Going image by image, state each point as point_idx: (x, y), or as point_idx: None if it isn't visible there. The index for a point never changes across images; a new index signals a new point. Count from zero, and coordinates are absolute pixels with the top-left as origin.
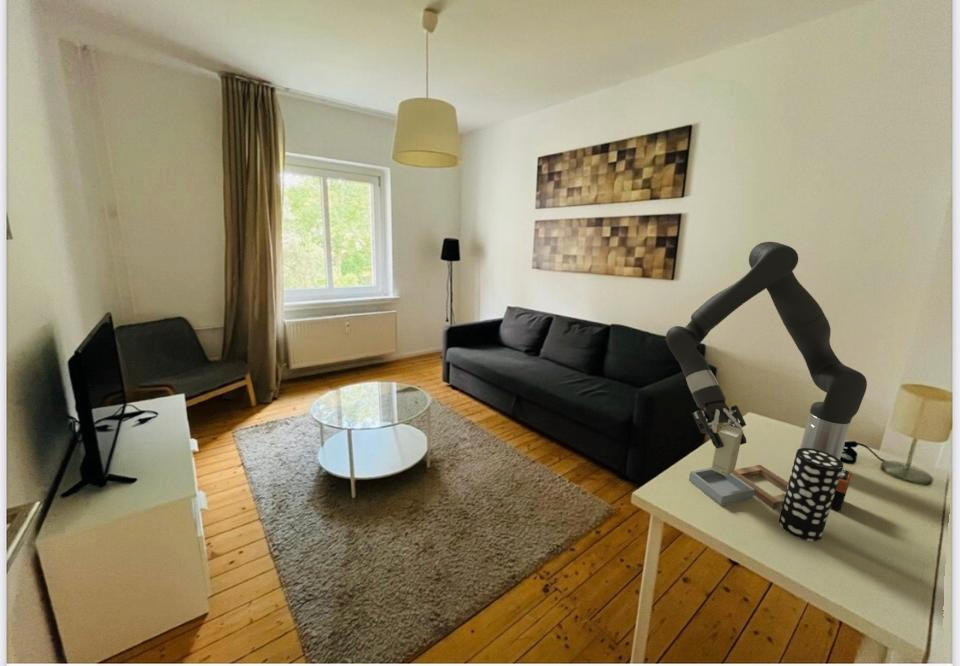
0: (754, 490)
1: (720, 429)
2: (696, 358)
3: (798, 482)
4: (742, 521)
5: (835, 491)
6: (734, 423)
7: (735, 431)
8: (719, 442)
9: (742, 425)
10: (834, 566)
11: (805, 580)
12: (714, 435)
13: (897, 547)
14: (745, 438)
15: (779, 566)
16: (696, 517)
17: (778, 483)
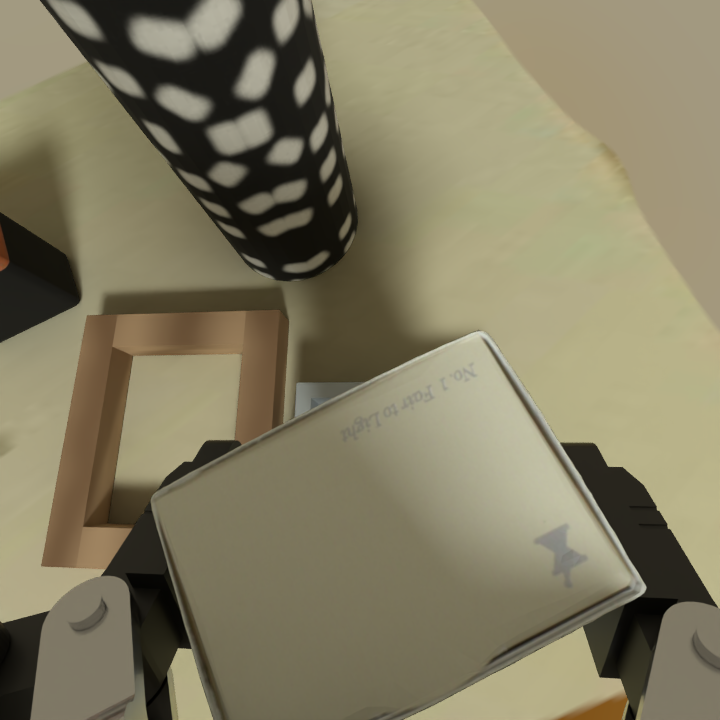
0: (298, 384)
1: (552, 641)
2: None
3: (309, 6)
4: (481, 294)
5: (6, 233)
6: (131, 696)
7: (329, 487)
8: (609, 482)
9: (5, 635)
10: (356, 89)
11: (500, 65)
12: (679, 587)
13: (93, 113)
14: (168, 482)
15: (534, 112)
16: (679, 358)
17: (109, 425)
